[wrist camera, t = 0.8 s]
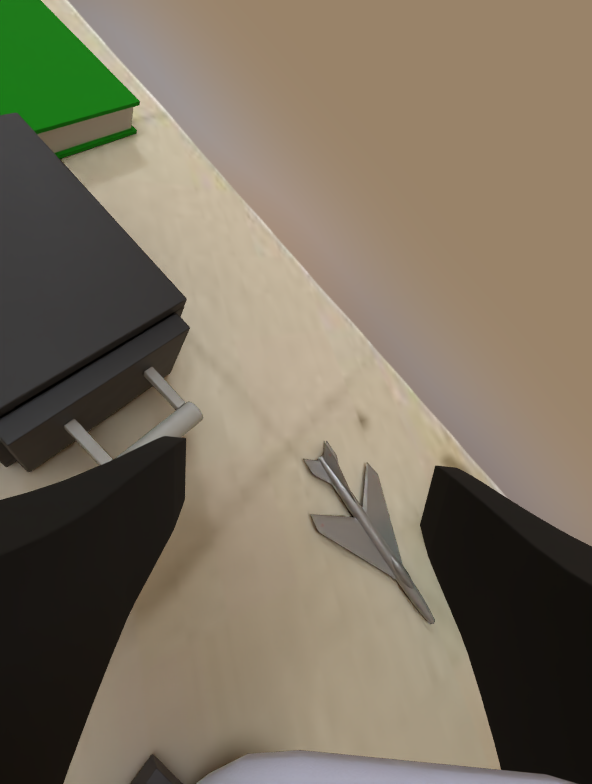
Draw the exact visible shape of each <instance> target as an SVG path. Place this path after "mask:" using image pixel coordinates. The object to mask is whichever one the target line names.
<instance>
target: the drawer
mask: <svg viewBox="0 0 592 784" xmlns="http://www.w3.org/2000/svg"><path fill="white" fill-rule="evenodd" d="M189 329H190V327H189V326H188V325H187V324H186V323H185V322H184V321H183V319H182V318H181V317H180V316H179V315H178V314H177V313H175V314H173V315H172V316H170V317H168V318H167V319H165V320H163V321H162V322H160V323H158V324H157V325H155V326H153V327H152V328H150V329H148V330H147V331H145V332H143V331H144V330H143V331H142V332H140V333H138V334H137V335H135V336H133V337H132V338H130V339H128V340H126V341H125V342H123V343H121V344H120V345H118V346H116V347H115V348H113V349H111V350H110V351H108V352H106V353H105V354H103V355H101V356H100V357H98V358H96V359H95V360H93V361H91V362H90V363H88V364H86V365H85V366H83V367H81V368H80V369H78V370H76V371H75V372H73V373H71V374H70V375H68V376H66V377H65V378H63V379H61V380H60V381H58V382H56V383H55V384H53V385H51V386H49V387H48V388H46V389H44V390H43V391H41V392H39V393H38V394H36V395H34V396H33V397H31V398H29V399H28V400H26V401H24V402H23V403H21V404H19V405H18V406H16V407H14V408H13V409H11V410H9V411H8V412H6V413H4V414H3V415H1V416H0V441H1V442H2V444H3V445H4V446H5V447H6V448H7V450H8V451H9V452H10V453H11V454H12V456H13V457H14V458H15V459H16V460H17V461H18V462H19V463H20V464H21V465H22V466H23V467H24V468H25V469H26V470H27V472H31V471H32V470H34V469H35V468H37V467H38V466H39V465H41V464H42V463H44V462H45V461H47V460H48V459H49V458H51V457H52V456H54V455H55V454H56V453H58V452H59V451H61V450H62V449H64V448H65V447H66V446H68V445H69V444H71V443H72V442H73V441H75V440H76V441H77V442H78V443H79V444H80V445H81V446H82V448H83V449H84V450H85V451H86V452H87V453H88V454H89V455H90V456H91V457H92V458H93V459H94V460H95V461H96V462H97V463H98V464H99V465H102V464H104V463H107V462H109V461H111V460H113V459H112V458H111V457H110V455H109V454H108V453H107V452H106V451H105V450H104V449H103V448H102V447H101V446H100V445H99V444H98V443H97V442H96V441H95V440H94V439H93V438H92V437H91V435H90V434H89V433H88V431H89V430H90V429H92V428H93V427H95V426H96V425H98V424H99V423H100V422H102V421H103V420H105V419H106V418H107V417H109V416H110V415H112V414H113V413H114V412H116V411H117V410H119V409H120V408H122V407H123V406H124V405H126V404H127V403H129V402H130V401H131V400H133V399H134V398H136V397H137V396H139V395H140V394H141V393H143V392H144V391H146V390H147V389H148V388H150V387H151V386H154V387H155V388H156V389H157V391H158V392H159V393H160V394H161V395H162V396H163V397H164V398H165V399H166V400H167V401H168V402H169V403H170V405H171V406H172V407H173V408H174V409H175V410H176V411H175V412H174V413H172V414H171V415H170V416H168V417H167V418H166V419H165V420H163V421H162V422H161V423H160V424H158V425H157V426H156V427H154V428H153V429H152V430H151V431H149V432H148V433H147V434H146V435H144V436H143V437H142V438H140V439H139V440H138V441H137V442H135V443H134V444H133V445H132V446H130V447H129V448H128V449H126V450H125V451H124V452H123V453H121V454H120V455H119V456H117V457H116V458H118V457H120V456H122V455H124V454H126V453H128V452H130V451H132V450H134V449H136V448H138V447H140V446H143V445H145V444H147V443H149V442H151V441H153V440H155V439H158V438H160V437H163V436H171V437H180V438H181V437H182V436H184V435H185V434H186V433H187V432H188V431H190V430H191V429H192V428H193V427H194V426H195V425H197V424H198V423H199V422H200V421H201V420H202V419H203V415H202V413H201V411H200V409H199V408H198V407H197V406H196V405H195V404H193V403H192V402H186V403H185V401H184V400H183V399H182V398H181V397H180V396H179V395H178V394H177V393H176V392H175V391H174V389H173V388H172V387H171V386H170V385H169V384H168V383H167V382H166V381H165V380H164V379H163V378H164V377H165V376H167V375H168V374H170V372H171V370H172V368H173V366H174V363H175V361H176V359H177V356H178V354H179V352H180V350H181V347H182V345H183V343H184V340H185V338H186V336H187V334H188V331H189ZM116 458H115V459H116Z"/></svg>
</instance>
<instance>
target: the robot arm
mask: <svg viewBox="0 0 592 784" xmlns="http://www.w3.org/2000/svg"><path fill="white" fill-rule="evenodd" d="M185 466H186V438H180V437H171V436H163V437H160V438H158V439H155V440H153V441H151V442H149V443H147V444H145V445H143V446H140V447H138V448H136V449H134V450H132V451H130V452H128V453H126V454H124V455H122V456H120V457H118V458H116V459H114V460H111V461H109V462H107V463H104V464H102V465H100V466H98V467H95V468H93V469H91V470H88V471H86V472H84V473H81V474H79V475H77V476H74V477H71V478H69V479H66V480H63V481H61V482H58V483H55V484H52V485H49V486H46V487H43V488H40V489H37V490H34V491H31V492H28V493H24V494H21V495H17V496H13V497H10V498H6V499H2V500H0V784H63V783H64V780H65V777H66V774H67V772H68V769H69V766H70V763H71V760H72V758H73V755H74V752H75V750H76V747H77V744H78V742H79V739H80V736H81V734H82V731H83V728H84V726H85V723H86V720H87V718H88V715H89V712H90V710H91V707H92V704H93V702H94V699H95V697H96V694H97V692H98V689H99V687H100V684H101V682H102V679H103V677H104V674H105V672H106V669H107V666H108V664H109V661H110V659H111V656H112V654H113V652H114V649H115V647H116V644H117V642H118V640H119V637H120V635H121V632H122V630H123V628H124V625H125V623H126V620H127V618H128V616H129V614H130V612H131V610H132V608H133V606H134V603H135V601H136V599H137V598H138V596H139V594H140V592H141V590H142V588H143V586H144V585H145V583H146V581H147V579H148V577H149V575H150V573H151V571H152V570H153V568H154V566H155V564H156V562H157V560H158V558H159V557H160V555H161V553H162V551H163V549H164V547H165V545H166V543H167V542H168V540H169V538H170V536H171V534H172V532H173V530H174V528H175V525H176V522H177V520H178V517H179V514H180V512H181V509H182V506H183V503H184V500H185ZM420 526H421V530H422V534H423V539H424V543H425V546H426V550H427V553H428V557H429V559H430V562H431V564H432V567H433V569H434V572H435V574H436V577H437V579H438V582H439V584H440V586H441V589H442V591H443V593H444V596H445V598H446V600H447V603H448V605H449V608H450V610H451V612H452V615H453V617H454V619H455V622H456V624H457V626H458V629H459V631H460V634H461V636H462V639H463V642H464V644H465V647H466V650H467V652H468V655H469V659H470V662H471V665H472V668H473V671H474V675H475V678H476V681H477V684H478V688H479V691H480V694H481V697H482V701H483V704H484V708H485V711H486V715H487V718H488V722H489V726H490V729H491V733H492V736H493V740H494V743H495V747H496V751H497V755H498V759H499V762H500V766H501V770H497V769H486V768H476V767H466V766H456V765H446V764H436V763H426V762H416V761H406V760H395V759H385V758H375V757H365V756H355V755H345V754H335V753H325V752H314V751H304V750H293V751H279V752H265V753H251V754H246V755H244V756H242V757H240V758H238V759H236V760H234V761H232V762H230V763H228V764H226V765H224V766H222V767H220V768H218V769H216V770H214V771H213V772H211V773H209V774H207V775H206V776H205V777H204V778H202V779H201V780H200V781H199V782H197V783H196V784H592V547H591V546H589V545H588V544H586V543H584V542H581V541H580V540H578V539H576V538H574V537H572V536H570V535H568V534H566V533H564V532H563V531H560V530H559V529H557V528H556V527H554V526H552V525H550V524H549V523H547V522H545V521H543V520H541V519H540V518H538V517H537V516H535V515H533V514H532V513H530V512H528V511H527V510H525V509H523V508H522V507H520V506H519V505H517V504H515V503H514V502H512V501H511V500H509V499H508V498H506V497H504V496H503V495H501V494H500V493H498V492H497V491H495V490H494V489H492V488H490V487H489V486H487V485H486V484H484V483H483V482H481V481H479V480H478V479H476V478H474V477H473V476H471V475H469V474H468V473H466V472H464V471H462V470H460V469H458V468H453V467H444V466H435V469H434V473H433V477H432V481H431V485H430V489H429V492H428V496H427V500H426V504H425V508H424V512H423V516H422V520H421V523H420Z"/></svg>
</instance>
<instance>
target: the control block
mask: <svg viewBox="0 0 592 784" xmlns="http://www.w3.org/2000/svg"><path fill="white" fill-rule="evenodd" d="M131 784H182V783H181V782H180V781H179V780H178V779H177V778H176V777H175V776H174V775H173V774H172V773H171V772H170V771H169V770H168V769H167V768H166V767H165V766H164V765H163V764H162V763H161V762H160V761H159V760H158V759H157V758H156V757H155V756H154V755H153V754H152V755H151V756H150V758H149V759H148V760H147V762H146V763H145V765H144V766H143V767H142V769H141V770H140V771H139V773H138V774H137V775H136V777H135V778H134V780H133V781H132V782H131Z"/></svg>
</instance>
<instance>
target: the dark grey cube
mask: <svg viewBox="0 0 592 784" xmlns="http://www.w3.org/2000/svg"><path fill="white" fill-rule="evenodd" d="M186 300H187V299H186V297H185V296H184V295H183V294H182V293H181V292H180V291H179V290H178V289H177V288H176V287H175V285H174V284H173V283H172V282H171V281H170V280H169V279H168V278H167V277H166V276H165V274H164V273H163V272H162V271H161V270H160V269H159V268H158V267H157V266H156V265H155V263H154V262H153V261H152V260H151V259H150V258H149V257H148V256H147V255H146V254H145V252H144V251H143V250H142V249H141V248H140V247H139V246H138V245H137V244H136V243H135V241H134V240H133V239H132V238H131V237H130V236H129V235H128V234H127V233H126V232H125V230H124V229H123V228H122V227H121V226H120V225H119V224H118V223H117V222H116V221H115V219H114V218H113V217H112V216H111V215H110V214H109V213H108V212H107V211H106V210H105V208H104V207H103V206H102V205H101V204H100V203H99V202H98V201H97V200H96V199H95V197H94V196H93V195H92V194H91V193H90V192H89V191H88V190H87V189H86V188H85V187H84V185H83V184H82V183H81V182H80V181H79V180H78V179H77V178H76V177H75V176H74V174H73V173H72V172H71V171H70V170H69V169H68V168H67V167H66V166H65V165H64V163H63V162H62V161H61V160H60V159H59V158H58V157H57V156H56V155H55V154H54V152H53V151H52V150H51V149H50V148H49V147H48V146H47V145H46V144H45V143H44V141H43V140H42V139H41V138H40V137H39V136H38V135H37V134H36V133H35V132H34V130H33V129H32V128H31V127H30V126H29V125H28V124H27V123H26V122H25V121H24V119H23V118H22V117H21V116H20V115H19V114H18V113H10V114H4V115H0V416H1V415H3V414H4V413H6V412H8V411H9V410H11V409H13V408H14V407H16V406H18V405H19V404H21V403H23V402H24V401H26V400H28V399H29V398H31V397H33V396H34V395H36V394H38V393H39V392H41V391H43V390H44V389H46V388H48V387H49V386H51V385H53V384H55V383H56V382H58V381H60V380H61V379H63V378H65V377H66V376H68V375H70V374H71V373H73V372H75V371H76V370H78V369H80V368H81V367H83V366H85V365H86V364H88V363H90V362H91V361H93V360H95V359H96V358H98V357H100V356H101V355H103V354H105V353H106V352H108V351H110V350H111V349H113V348H115V347H116V346H118V345H120V344H121V343H123V342H125V341H126V340H128V339H130V338H132V337H133V336H135V335H137V334H138V333H140V332H142V331H143V330H144V331H143V332H145V331H147V330H148V329H150V328H152V327H153V326H155V325H157V324H158V323H160V322H162V321H163V320H165V319H167V318H168V317H170V316H172V315H173V314H175V313H177V314H178V315H179V316H180V317H181V314H182V311H183V309H184V305H185V302H186ZM15 461H17V460H16V459H15V458H14V457H13V456H12V454H11V453H10V452H9V451H8V450H7V448H6V447H5V446H4V445H3V444H2V442H1V441H0V462H1V463H2V464H3V465H4V466H5V467H8V466H10V465H11V464H13V463H14V462H15Z"/></svg>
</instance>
